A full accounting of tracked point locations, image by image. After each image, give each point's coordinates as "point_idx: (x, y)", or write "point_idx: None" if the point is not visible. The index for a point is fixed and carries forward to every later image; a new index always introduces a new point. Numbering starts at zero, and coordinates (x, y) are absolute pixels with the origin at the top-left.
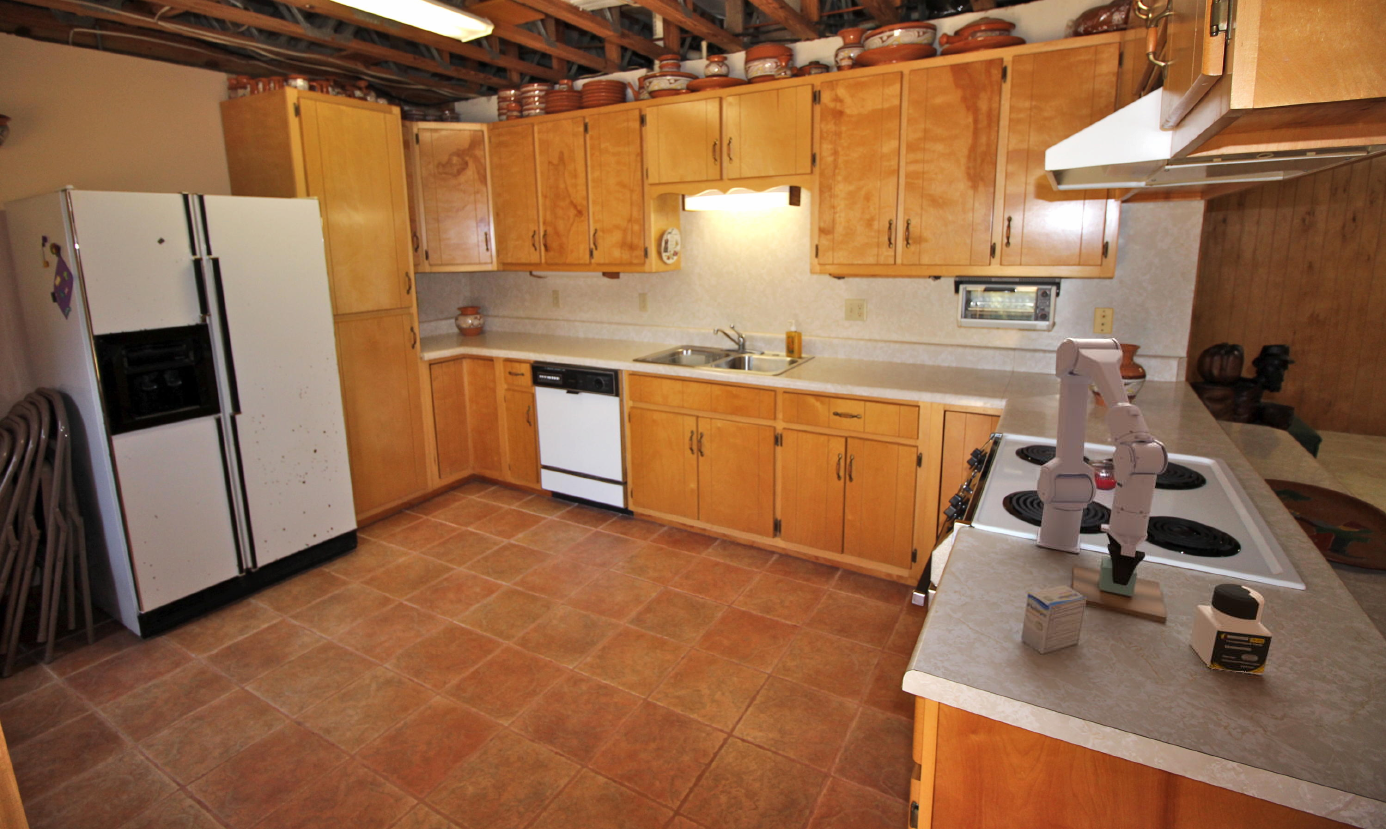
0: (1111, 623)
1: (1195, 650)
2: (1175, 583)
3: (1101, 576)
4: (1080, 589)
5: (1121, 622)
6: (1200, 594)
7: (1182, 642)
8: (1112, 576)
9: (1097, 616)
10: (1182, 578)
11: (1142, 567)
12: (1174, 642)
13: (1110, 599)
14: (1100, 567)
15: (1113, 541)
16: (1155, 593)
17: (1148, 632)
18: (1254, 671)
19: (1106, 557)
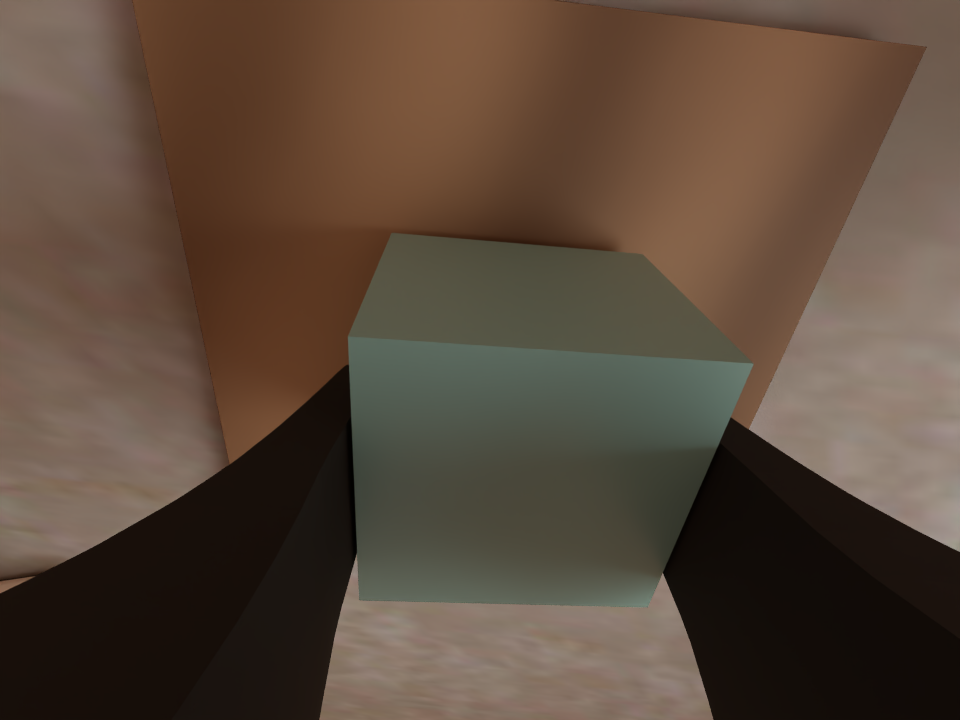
0: (5, 259)
1: (26, 579)
2: None
3: (378, 278)
4: (358, 58)
5: (79, 321)
6: (641, 640)
7: (90, 545)
8: (321, 387)
9: (38, 172)
10: None
11: (917, 497)
12: (58, 520)
13: (299, 296)
14: (677, 291)
15: (893, 664)
16: None
17: (70, 437)
18: None
19: (692, 400)
